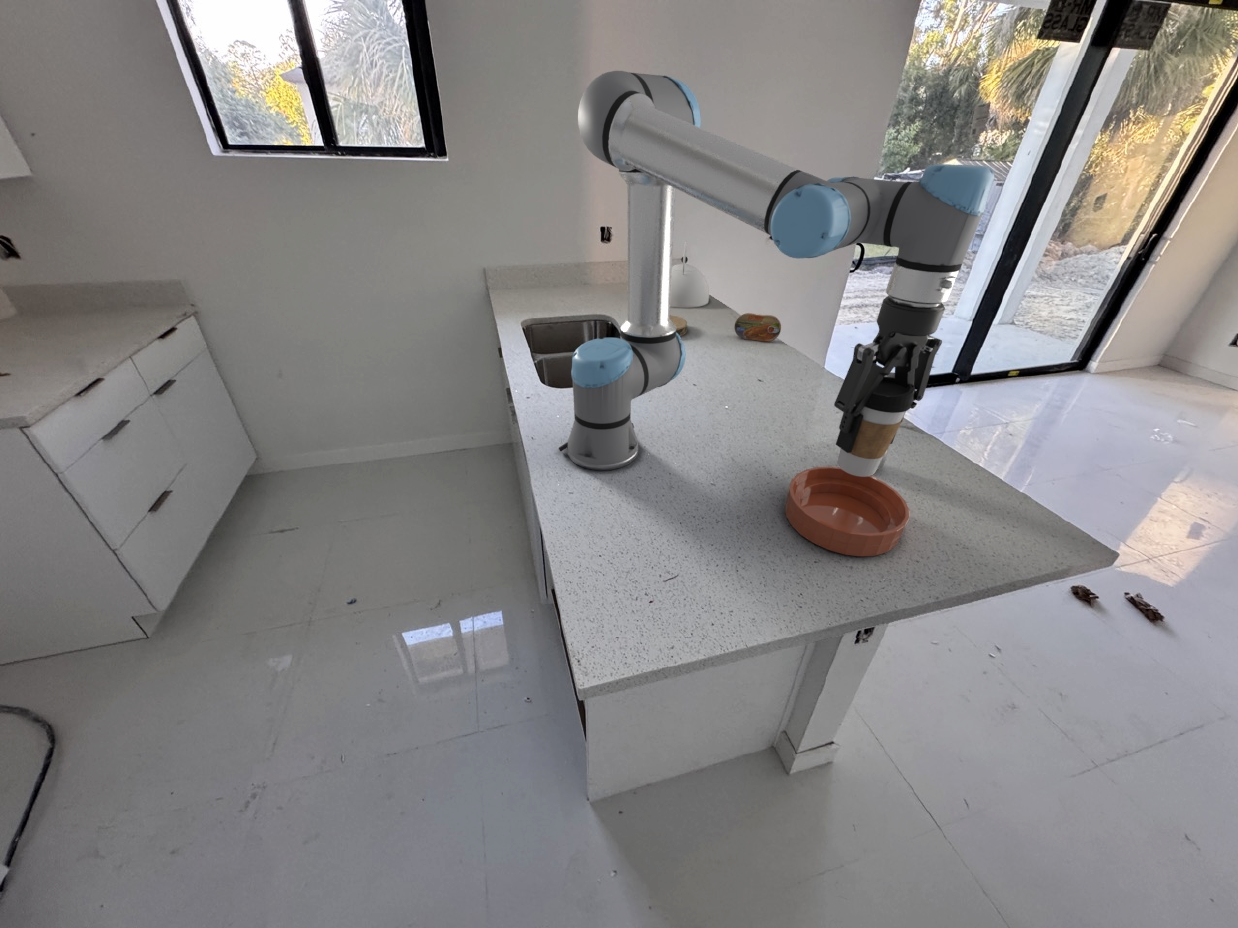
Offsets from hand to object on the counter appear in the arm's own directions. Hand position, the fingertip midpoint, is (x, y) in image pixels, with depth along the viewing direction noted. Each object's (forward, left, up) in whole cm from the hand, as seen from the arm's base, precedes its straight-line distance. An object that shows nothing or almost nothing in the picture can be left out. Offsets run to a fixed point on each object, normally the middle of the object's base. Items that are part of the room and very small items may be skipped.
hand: (863, 443), depth 78 cm
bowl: (0, 0, -16) cm, 16 cm away
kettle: (+35, +139, -16) cm, 144 cm away
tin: (+38, +86, -16) cm, 95 cm away
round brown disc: (+12, +104, -16) cm, 106 cm away
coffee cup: (0, 0, -5) cm, 5 cm away
